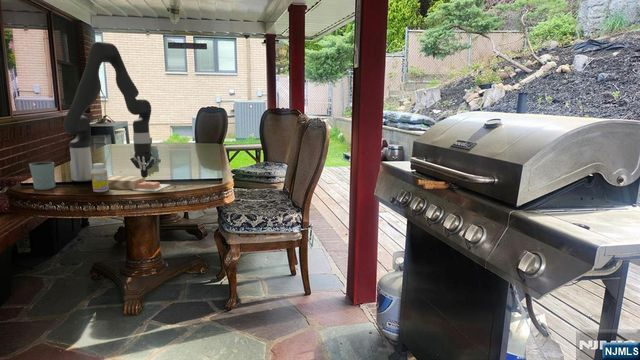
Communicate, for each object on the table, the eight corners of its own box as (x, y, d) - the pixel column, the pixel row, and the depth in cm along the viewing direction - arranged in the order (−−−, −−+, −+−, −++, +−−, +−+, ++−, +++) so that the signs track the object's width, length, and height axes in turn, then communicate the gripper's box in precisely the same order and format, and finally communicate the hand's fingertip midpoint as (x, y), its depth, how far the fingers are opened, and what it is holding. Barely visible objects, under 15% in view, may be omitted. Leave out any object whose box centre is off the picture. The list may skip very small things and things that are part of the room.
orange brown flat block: (136, 188, 203) (135, 184, 203) (143, 185, 209) (142, 181, 208) (153, 188, 202) (153, 184, 201) (159, 186, 207) (159, 182, 207)
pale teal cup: (38, 191, 196) (35, 165, 193) (28, 188, 201) (24, 163, 199) (61, 187, 204) (58, 162, 202) (50, 184, 210) (47, 160, 207)
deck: (96, 187, 205) (95, 179, 204) (109, 182, 215) (108, 175, 214) (133, 189, 202) (133, 181, 201) (145, 184, 211) (145, 177, 211)
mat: (132, 190, 200) (132, 189, 200) (148, 184, 213) (148, 183, 213) (155, 191, 198) (155, 190, 198) (170, 185, 211) (170, 184, 211)
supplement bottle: (96, 189, 201) (94, 162, 198) (111, 189, 202) (108, 162, 199) (90, 192, 195) (87, 165, 192) (105, 192, 195) (102, 165, 192)
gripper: (124, 142, 199) (127, 178, 203) (150, 143, 197) (153, 179, 200) (134, 140, 206) (136, 175, 210) (159, 141, 204) (161, 176, 208)
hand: (144, 177), depth 205 cm, fingers closed
